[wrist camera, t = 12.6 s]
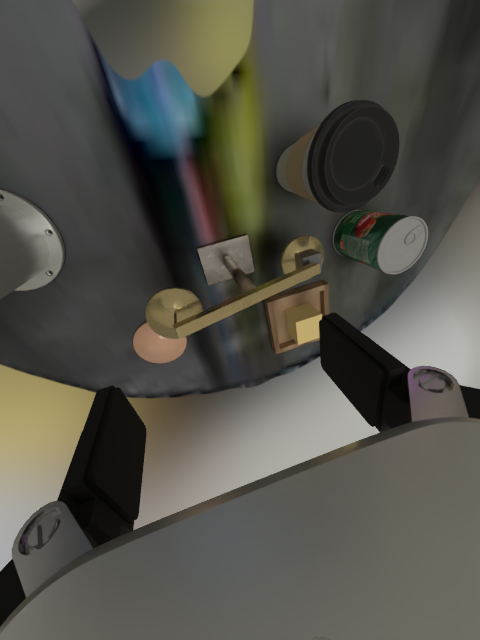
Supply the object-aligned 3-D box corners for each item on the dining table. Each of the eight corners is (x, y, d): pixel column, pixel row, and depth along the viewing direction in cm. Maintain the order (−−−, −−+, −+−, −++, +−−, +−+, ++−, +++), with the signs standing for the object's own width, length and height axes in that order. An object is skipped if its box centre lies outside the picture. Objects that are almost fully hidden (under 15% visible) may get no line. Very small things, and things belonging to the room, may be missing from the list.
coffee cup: (317, 204, 39) (389, 213, 26) (261, 204, 37) (310, 214, 24) (328, 131, 34) (421, 99, 22) (265, 126, 32) (327, 87, 20)
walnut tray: (272, 348, 51) (276, 354, 49) (263, 298, 45) (267, 302, 43) (324, 331, 52) (329, 336, 50) (322, 279, 46) (328, 283, 44)
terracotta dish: (146, 367, 45) (145, 369, 45) (124, 328, 41) (123, 330, 40) (192, 352, 46) (193, 354, 46) (176, 312, 42) (176, 313, 41)
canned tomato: (346, 265, 46) (391, 285, 36) (324, 236, 42) (368, 250, 33) (379, 231, 44) (435, 243, 35) (359, 198, 40) (416, 202, 31)
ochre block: (284, 310, 46) (295, 322, 42) (308, 302, 47) (322, 313, 43) (287, 331, 49) (298, 344, 45) (309, 323, 49) (322, 336, 45)
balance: (162, 296, 40) (156, 368, 24) (147, 261, 37) (130, 317, 21) (294, 257, 42) (367, 298, 27) (290, 221, 39) (371, 244, 23)
